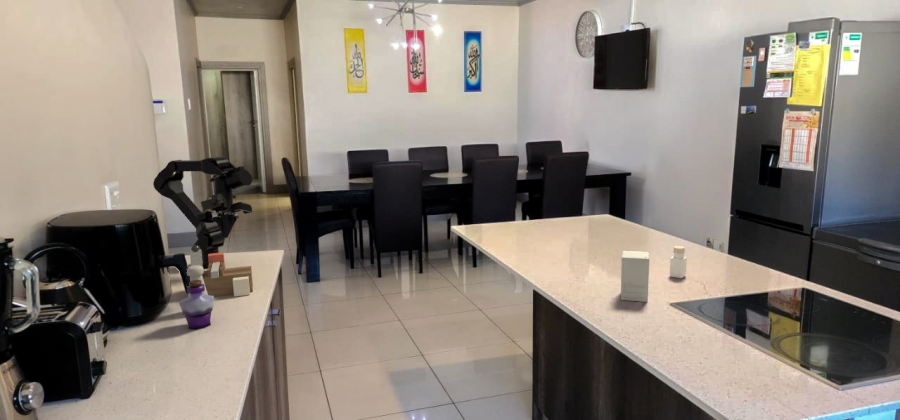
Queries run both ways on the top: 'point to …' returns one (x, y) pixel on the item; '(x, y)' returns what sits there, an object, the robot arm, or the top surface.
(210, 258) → the red plunger
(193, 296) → the potion bottle
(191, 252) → the lever
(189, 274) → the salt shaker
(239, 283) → the cream button
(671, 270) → the pepper shaker
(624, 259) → the supplement box
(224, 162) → the robot arm
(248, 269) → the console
